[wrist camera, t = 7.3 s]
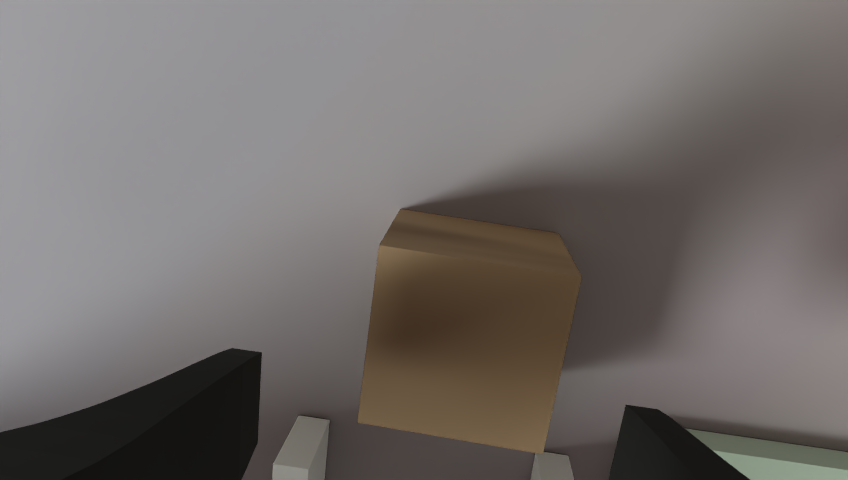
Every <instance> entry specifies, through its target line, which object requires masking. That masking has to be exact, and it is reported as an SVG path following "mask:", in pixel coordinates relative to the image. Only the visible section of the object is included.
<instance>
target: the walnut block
mask: <svg viewBox="0 0 848 480" xmlns="http://www.w3.org/2000/svg"><path fill="white" fill-rule="evenodd" d="M581 279H582V276H581V274H580V272H579V271H578V269H577V267H576V265H575V263H574V261H573V259H572V258H571V256H570V254H569V252H568V250H567V248H566V246H565V245H564V243H563V241H562V239H561V237H560V235H559V233H553V232H547V231H540V230H534V229H527V228H521V227H514V226H508V225H501V224H495V223H488V222H482V221H475V220H469V219H462V218H456V217H449V216H443V215H437V214H430V213H424V212H417V211H411V210H404V209H400V211H399V212H398V214H397V216H396V217H395V219H394V221H393V223H392V224H391V226H390V228H389V229H388V231H387V233H386V234H385V236H384V238H383V240H382V241H381V243H380V245H379V251H378V259H377V267H376V275H375V283H374V291H373V299H372V307H371V316H370V324H369V332H368V340H367V348H366V356H365V364H364V372H363V380H362V388H361V396H360V404H359V412H358V421H357V423H363V424H368V425H374V426H380V427H386V428H392V429H398V430H404V431H409V432H415V433H421V434H427V435H433V436H439V437H444V438H450V439H456V440H462V441H468V442H474V443H479V444H485V445H491V446H497V447H503V448H509V449H514V450H520V451H526V452H532V453H538V454H543V451H544V447H545V442H546V438H547V433H548V429H549V424H550V420H551V415H552V411H553V406H554V402H555V397H556V392H557V388H558V383H559V379H560V374H561V370H562V365H563V361H564V356H565V352H566V347H567V343H568V338H569V334H570V329H571V325H572V320H573V316H574V311H575V306H576V302H577V297H578V293H579V288H580V284H581Z"/></svg>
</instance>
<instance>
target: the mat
mask: <svg viewBox="0 0 848 480" xmlns="http://www.w3.org/2000/svg"><path fill="white" fill-rule="evenodd" d="M686 430H687V431H689V432H690V433H691V434H692V435H694V436H695V437H696V438H697V439H699V440H700V441H701V442H702V443H704V444H705V445H706V446H707V447H709V448H710V449H711V450H713V451H714V452H715V453H716V454H718V455H719V456H720V457H721V458H723V459H724V460H725V461H727V462H728V463H729V464H730V465H732V466H733V467H734V468H736V469H737V470H738V471H739V472H741V473H742V474H743V475H745V476H746V477H747V478H749V479H750V480H848V452H843V451H837V450H830V449H823V448H816V447H809V446H802V445H795V444H788V443H782V442H775V441H768V440H761V439H754V438H747V437H740V436H733V435H727V434H720V433H713V432H706V431H699V430H692V429H686Z"/></svg>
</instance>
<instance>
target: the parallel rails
mask: <svg viewBox="0 0 848 480" xmlns="http://www.w3.org/2000/svg"><path fill="white" fill-rule="evenodd" d="M329 422H330V420H326V419H320V418H313V417H306V416H298V417H297V419H296V421H295V423H294V425H293V427H292V429H291V431H290V433H289V435H288V436H287V438H286V440H285V442H284V444H283V446H282V448H281V450H280V452H279V454H278V455H277V457H276V459H275V461H274V463H273V474H272V480H325V470H326V458H327V446H328V434H329ZM530 480H574V477H573V473H572V469H571V465H570V461H569V457H568V455H561V454H554V453H548V452H543V454H538V453H535V458H534V463H533V468H532V474H531V479H530Z"/></svg>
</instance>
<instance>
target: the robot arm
mask: <svg viewBox="0 0 848 480" xmlns="http://www.w3.org/2000/svg"><path fill="white" fill-rule="evenodd" d="M261 358H262V353H261V352H255V351H248V350H241V349H234V348H231V349H228V350H225V351H222V352H220V353H217V354H215V355H213V356H210V357H208V358H206V359H204V360H201V361H199V362H197V363H195V364H193V365H190V366H188V367H186V368H184V369H182V370H179V371H177V372H175V373H173V374H170V375H168V376H166V377H164V378H162V379H159V380H157V381H155V382H153V383H150V384H148V385H145V386H143V387H140V388H138V389H135V390H133V391H130V392H128V393H125V394H123V395H120V396H118V397H115V398H113V399H110V400H108V401H105V402H103V403H100V404H97V405H94V406H92V407H89V408H86V409H83V410H80V411H77V412H74V413H70V414H67V415H64V416H61V417H58V418H54V419H51V420H48V421H44V422H41V423H37V424H34V425H29V426H25V427H21V428H17V429H13V430H9V431H4V432H0V480H241V479H242V477H243V475H244V473H245V470H246V468H247V466H248V464H249V461H250V459H251V457H252V454H253V452H254V449H255V447H256V445H257V442H258V422H259V400H260V379H261ZM609 480H750V479H749V478H747V477H746V476H745V475H743V474H742V473H741V472H739V471H738V470H737V469H736V468H734V467H733V466H732V465H730V464H729V463H728V462H727V461H725V460H724V459H723V458H721V457H720V456H719V455H718V454H716V453H715V452H714V451H713V450H711V449H710V448H709V447H707V446H706V445H705V444H704V443H702V442H701V441H700V440H699V439H697V438H696V437H695V436H694V435H692V434H691V433H690V432H689V431H687V430H686V429H685V428H683V427H682V426H681V425H680V424H678V423H677V422H676V421H674V420H673V419H672V418H670V417H669V416H667V415H666V414H664V413H663V412H661V411H660V410H658V409H651V408H644V407H638V406H631V405H626V407H625V411H624V415H623V420H622V424H621V428H620V433H619V437H618V441H617V446H616V450H615V454H614V459H613V463H612V467H611V472H610V476H609Z"/></svg>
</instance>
